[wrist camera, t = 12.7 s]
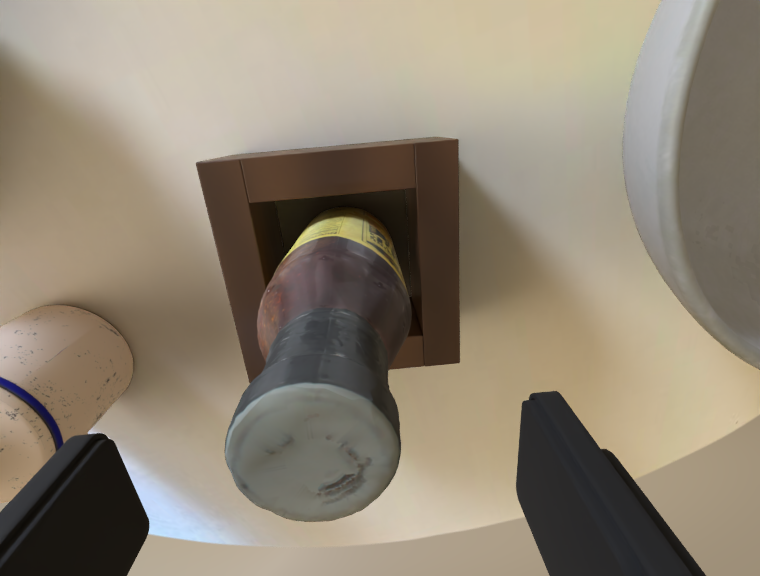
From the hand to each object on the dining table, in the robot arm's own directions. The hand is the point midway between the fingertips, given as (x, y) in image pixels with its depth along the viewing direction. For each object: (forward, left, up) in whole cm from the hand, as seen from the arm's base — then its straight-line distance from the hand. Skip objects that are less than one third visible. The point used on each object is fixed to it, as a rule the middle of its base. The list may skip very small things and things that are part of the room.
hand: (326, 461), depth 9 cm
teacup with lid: (+21, +8, -20) cm, 30 cm away
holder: (0, 0, -20) cm, 20 cm away
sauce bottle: (0, 0, -20) cm, 20 cm away
